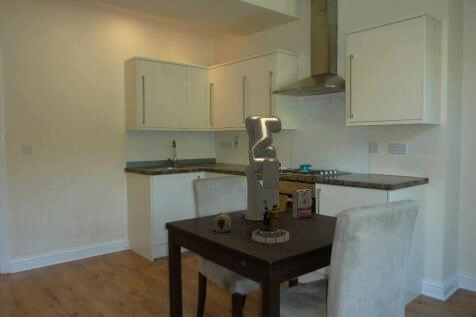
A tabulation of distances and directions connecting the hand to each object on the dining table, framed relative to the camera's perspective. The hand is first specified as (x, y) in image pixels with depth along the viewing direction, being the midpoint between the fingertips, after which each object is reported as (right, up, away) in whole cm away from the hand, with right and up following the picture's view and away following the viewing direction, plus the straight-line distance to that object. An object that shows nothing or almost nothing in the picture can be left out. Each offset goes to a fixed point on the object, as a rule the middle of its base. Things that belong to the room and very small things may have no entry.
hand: (270, 223), depth 175 cm
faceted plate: (0, -7, 0) cm, 7 cm away
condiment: (-1, -3, 0) cm, 3 cm away
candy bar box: (+22, -5, +47) cm, 52 cm away
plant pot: (+11, -4, +66) cm, 67 cm away
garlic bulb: (-23, -6, +14) cm, 27 cm away
